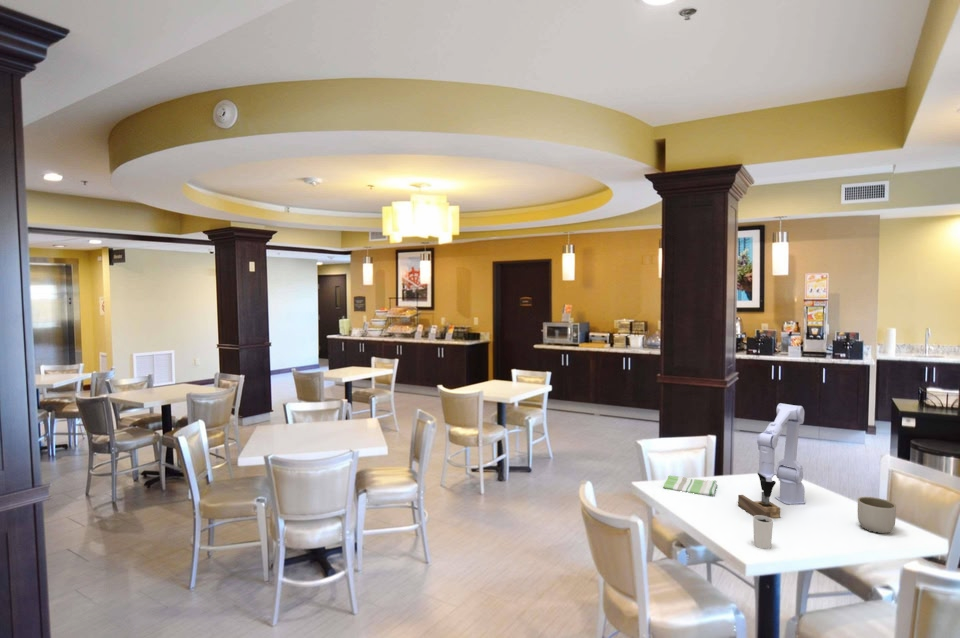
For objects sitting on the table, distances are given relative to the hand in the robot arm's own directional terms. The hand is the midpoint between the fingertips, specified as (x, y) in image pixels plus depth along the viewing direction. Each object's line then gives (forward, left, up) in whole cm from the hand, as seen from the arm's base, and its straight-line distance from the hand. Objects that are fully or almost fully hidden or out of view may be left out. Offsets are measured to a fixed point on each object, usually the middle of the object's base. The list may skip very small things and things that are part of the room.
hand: (765, 493), depth 237 cm
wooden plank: (+5, 0, -9) cm, 11 cm away
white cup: (+19, +28, -9) cm, 35 cm away
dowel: (0, 0, -8) cm, 8 cm away
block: (0, 0, -9) cm, 9 cm away
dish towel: (+16, -35, -10) cm, 40 cm away
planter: (-35, +18, -9) cm, 40 cm away
